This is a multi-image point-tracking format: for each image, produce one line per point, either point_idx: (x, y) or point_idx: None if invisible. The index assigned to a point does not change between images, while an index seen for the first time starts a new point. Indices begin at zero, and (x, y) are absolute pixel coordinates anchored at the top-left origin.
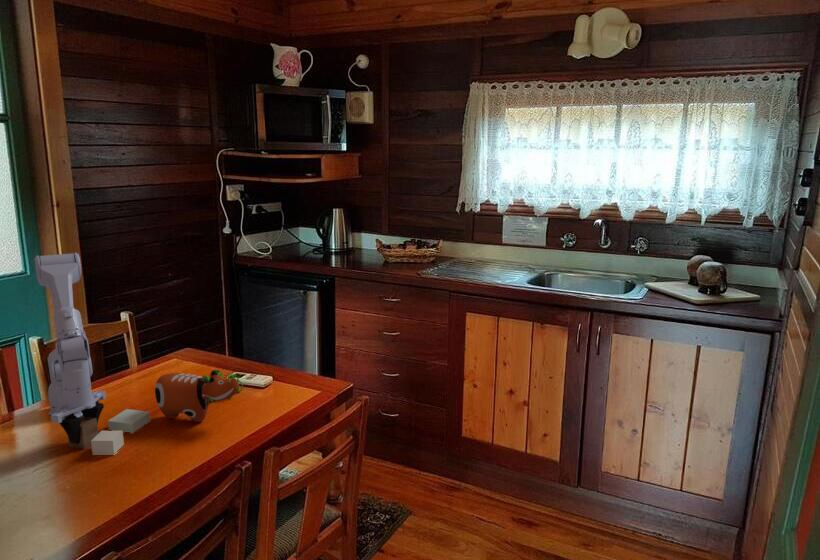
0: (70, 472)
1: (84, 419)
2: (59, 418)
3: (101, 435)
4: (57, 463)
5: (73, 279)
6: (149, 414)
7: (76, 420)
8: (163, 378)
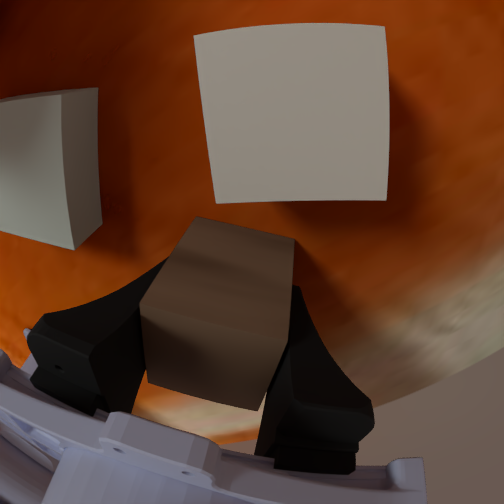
0: (498, 200)
1: (179, 360)
2: (417, 488)
3: (297, 161)
4: (416, 288)
5: None
6: None
7: (358, 413)
8: None
